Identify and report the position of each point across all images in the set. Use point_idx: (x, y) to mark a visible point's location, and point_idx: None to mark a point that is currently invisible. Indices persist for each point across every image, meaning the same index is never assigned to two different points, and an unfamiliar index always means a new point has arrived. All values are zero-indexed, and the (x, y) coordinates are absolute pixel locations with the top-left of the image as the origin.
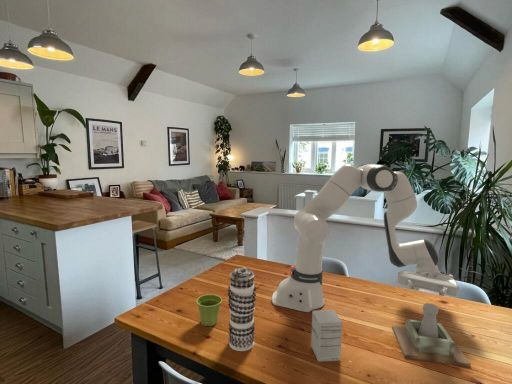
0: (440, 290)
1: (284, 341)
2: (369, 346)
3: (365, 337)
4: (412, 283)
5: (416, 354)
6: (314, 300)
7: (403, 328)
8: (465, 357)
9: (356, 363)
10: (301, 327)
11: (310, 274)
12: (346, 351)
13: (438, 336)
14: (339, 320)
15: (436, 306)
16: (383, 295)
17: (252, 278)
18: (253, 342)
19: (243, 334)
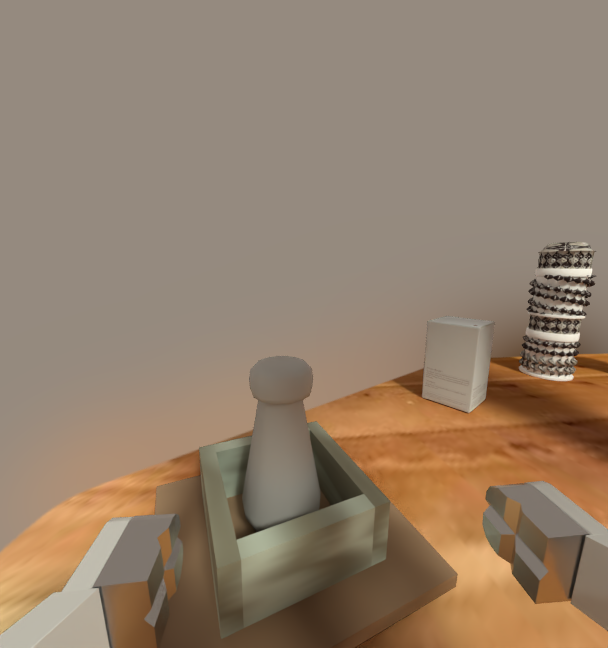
0: (160, 523)
1: (524, 392)
2: (418, 443)
3: (458, 467)
4: (557, 516)
5: None
6: None
7: (404, 582)
8: (157, 509)
9: (397, 402)
10: (580, 427)
11: None
12: (435, 414)
13: (244, 487)
14: (435, 321)
15: (257, 367)
16: None
17: (551, 255)
18: (535, 374)
19: (524, 343)
